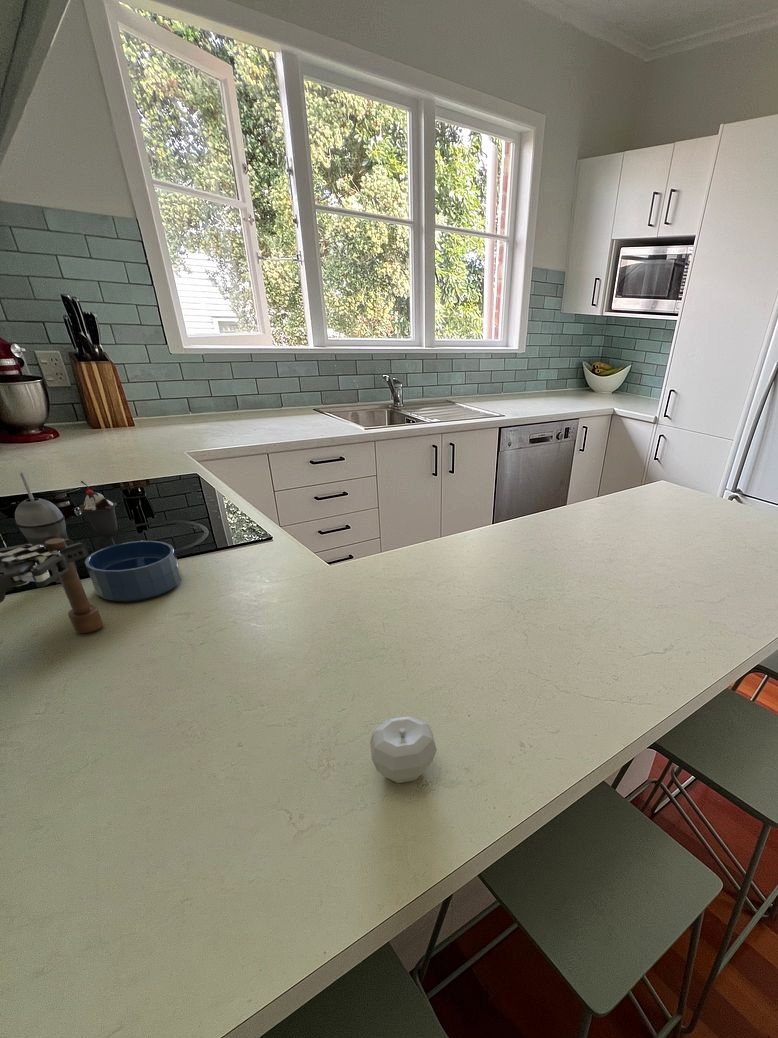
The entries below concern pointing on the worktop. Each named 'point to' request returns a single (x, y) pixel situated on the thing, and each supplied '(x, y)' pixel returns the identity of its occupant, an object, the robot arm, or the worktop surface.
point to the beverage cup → (40, 520)
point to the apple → (402, 748)
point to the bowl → (133, 570)
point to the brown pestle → (76, 596)
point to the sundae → (100, 514)
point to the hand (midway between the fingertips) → (78, 546)
